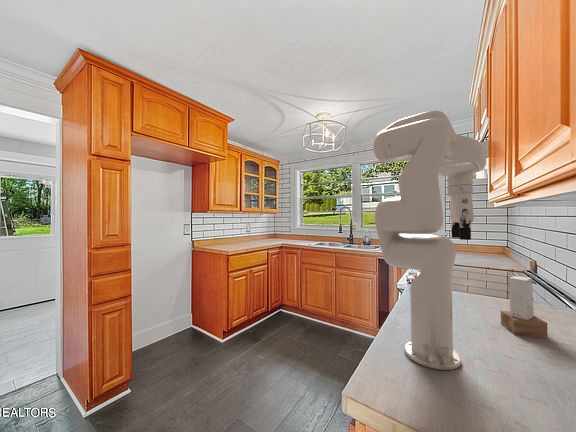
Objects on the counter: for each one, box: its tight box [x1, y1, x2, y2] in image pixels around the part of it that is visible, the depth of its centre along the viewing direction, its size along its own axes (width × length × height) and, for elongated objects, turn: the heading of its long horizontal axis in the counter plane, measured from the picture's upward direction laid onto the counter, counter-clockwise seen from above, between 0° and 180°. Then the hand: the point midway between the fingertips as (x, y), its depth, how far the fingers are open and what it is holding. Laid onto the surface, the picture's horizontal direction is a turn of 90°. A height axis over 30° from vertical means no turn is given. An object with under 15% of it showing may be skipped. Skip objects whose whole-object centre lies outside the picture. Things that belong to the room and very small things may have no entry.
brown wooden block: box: [500, 310, 548, 339], centre depth 79 cm, size 8×8×4 cm
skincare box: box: [508, 275, 535, 320], centre depth 80 cm, size 6×4×12 cm
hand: (460, 238), depth 91 cm, fingers open, 9 cm apart
